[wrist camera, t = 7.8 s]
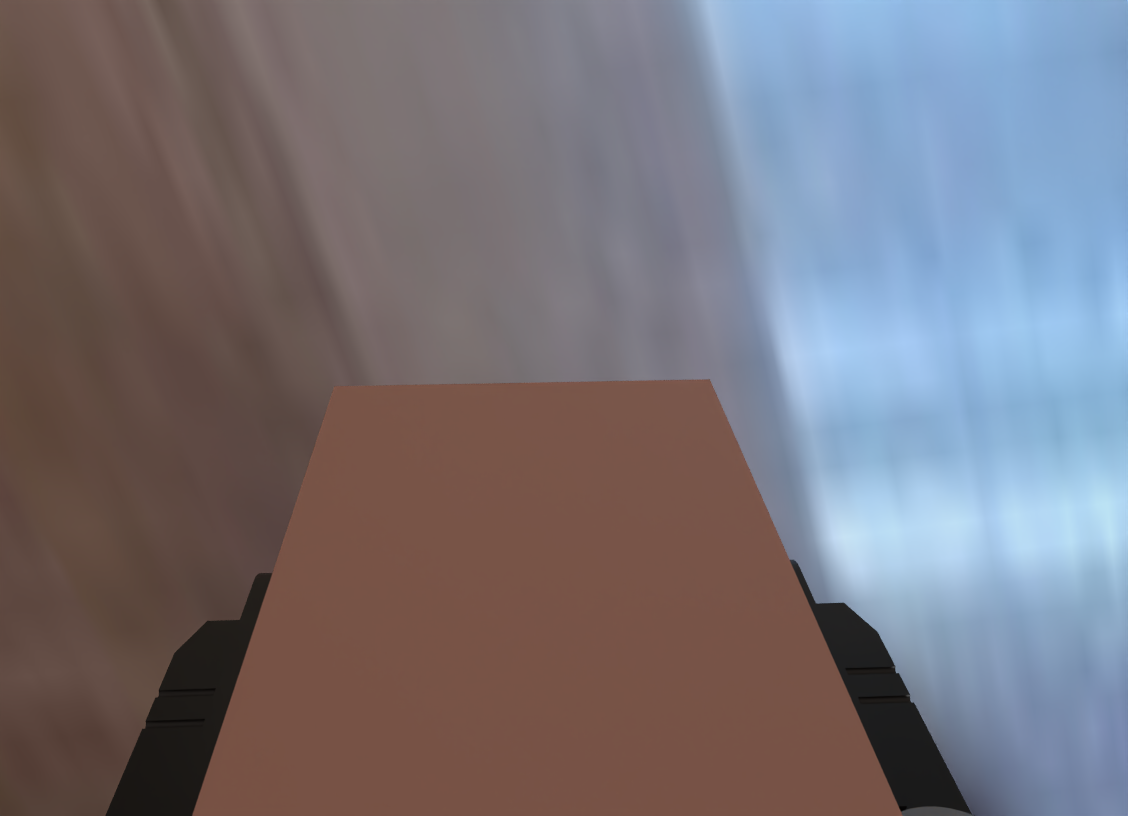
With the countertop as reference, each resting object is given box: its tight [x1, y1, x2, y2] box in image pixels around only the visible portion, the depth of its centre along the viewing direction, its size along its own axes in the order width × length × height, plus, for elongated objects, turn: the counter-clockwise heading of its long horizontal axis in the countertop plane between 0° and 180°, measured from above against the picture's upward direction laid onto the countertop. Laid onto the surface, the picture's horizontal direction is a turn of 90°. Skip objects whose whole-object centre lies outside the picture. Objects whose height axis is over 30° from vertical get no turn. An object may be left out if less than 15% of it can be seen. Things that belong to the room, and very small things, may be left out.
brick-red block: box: [192, 379, 902, 816], centre depth 10 cm, size 4×4×7 cm
